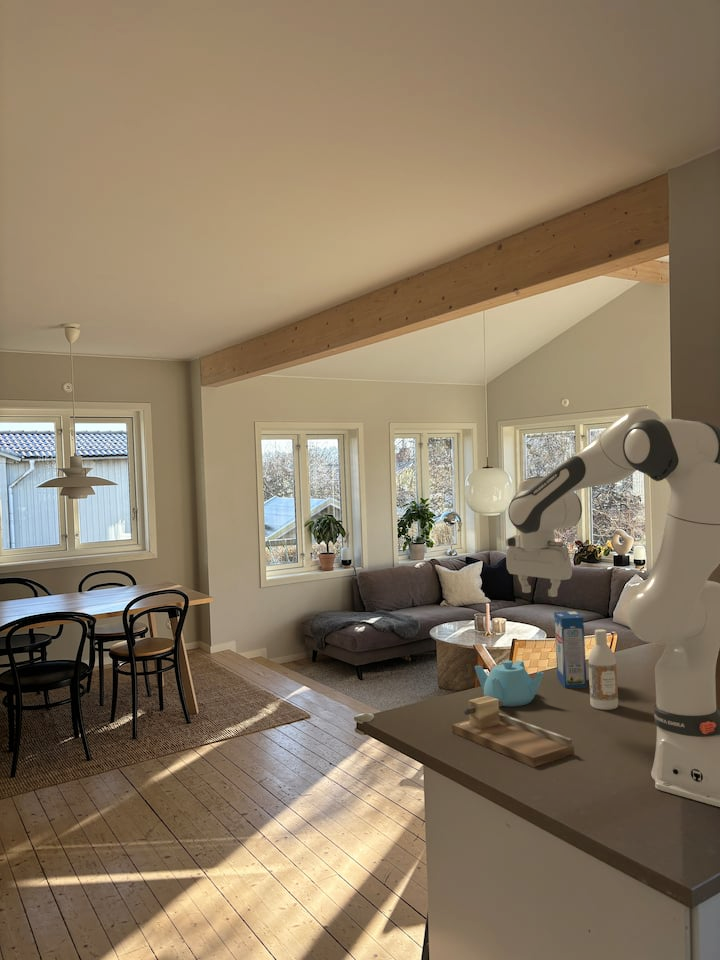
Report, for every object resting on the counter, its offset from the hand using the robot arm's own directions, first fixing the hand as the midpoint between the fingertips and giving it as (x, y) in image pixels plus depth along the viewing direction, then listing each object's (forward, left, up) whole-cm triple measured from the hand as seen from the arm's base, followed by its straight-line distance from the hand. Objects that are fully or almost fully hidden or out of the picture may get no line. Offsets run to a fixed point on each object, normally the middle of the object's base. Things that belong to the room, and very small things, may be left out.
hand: (539, 594), depth 194 cm
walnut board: (-9, +20, -31) cm, 38 cm away
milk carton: (+17, -27, -31) cm, 45 cm away
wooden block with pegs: (0, +20, -29) cm, 35 cm away
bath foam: (-4, -17, -31) cm, 36 cm away
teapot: (+16, -2, -31) cm, 35 cm away
